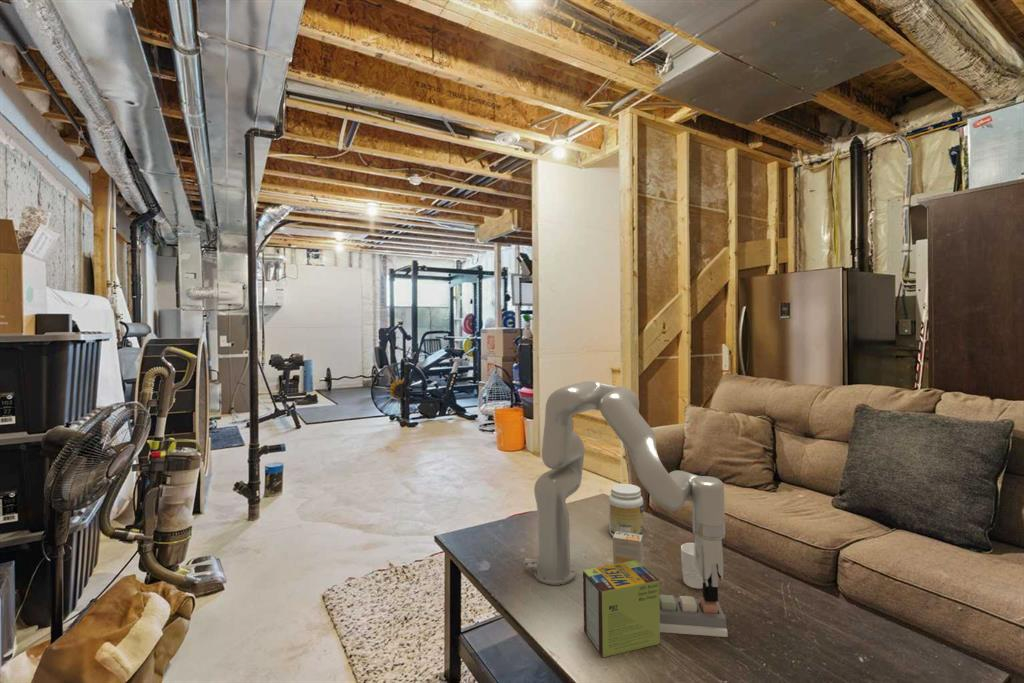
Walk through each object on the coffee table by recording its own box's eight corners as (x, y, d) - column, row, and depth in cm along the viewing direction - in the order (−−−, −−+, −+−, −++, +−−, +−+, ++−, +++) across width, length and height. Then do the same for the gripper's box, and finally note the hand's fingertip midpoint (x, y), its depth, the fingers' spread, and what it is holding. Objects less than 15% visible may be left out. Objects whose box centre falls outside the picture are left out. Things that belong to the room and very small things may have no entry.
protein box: (661, 644, 112) (660, 579, 111) (602, 658, 107) (601, 591, 107) (637, 618, 122) (636, 559, 121) (582, 630, 117) (581, 569, 117)
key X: (682, 612, 118) (682, 603, 118) (679, 604, 121) (679, 595, 121) (696, 613, 118) (696, 604, 117) (693, 605, 121) (693, 596, 121)
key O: (661, 611, 119) (661, 602, 119) (659, 603, 122) (659, 594, 122) (676, 612, 118) (675, 603, 118) (673, 604, 122) (673, 595, 122)
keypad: (658, 632, 116) (658, 616, 116) (652, 607, 126) (652, 593, 126) (727, 637, 113) (727, 621, 113) (716, 612, 123) (715, 597, 123)
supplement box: (644, 577, 141) (643, 534, 140) (641, 585, 136) (640, 541, 136) (616, 572, 144) (615, 530, 144) (613, 580, 140) (612, 536, 139)
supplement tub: (648, 542, 163) (647, 493, 163) (613, 542, 164) (612, 494, 163) (639, 527, 176) (638, 482, 175) (606, 527, 176) (605, 482, 175)
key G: (703, 614, 117) (703, 604, 117) (700, 606, 121) (700, 597, 121) (717, 615, 117) (717, 605, 117) (714, 607, 120) (714, 597, 120)
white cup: (712, 591, 133) (712, 556, 132) (683, 588, 134) (683, 554, 134) (707, 576, 141) (706, 543, 140) (679, 574, 142) (678, 541, 142)
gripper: (686, 515, 126) (688, 583, 126) (700, 540, 111) (702, 617, 112) (716, 516, 125) (717, 584, 125) (733, 541, 110) (735, 618, 110)
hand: (710, 599), depth 118 cm, fingers closed
